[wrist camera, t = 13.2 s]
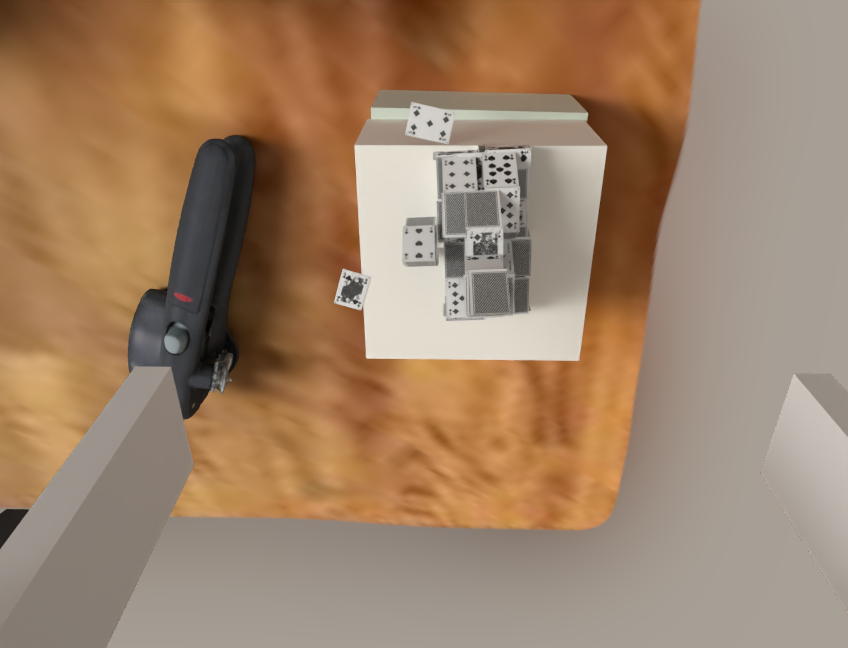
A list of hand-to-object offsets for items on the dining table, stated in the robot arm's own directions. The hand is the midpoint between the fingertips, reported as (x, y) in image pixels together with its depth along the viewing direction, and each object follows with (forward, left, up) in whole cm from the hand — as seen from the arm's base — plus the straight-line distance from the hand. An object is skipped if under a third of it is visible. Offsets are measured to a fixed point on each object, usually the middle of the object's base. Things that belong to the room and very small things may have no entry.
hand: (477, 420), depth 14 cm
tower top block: (+1, -3, -20) cm, 20 cm away
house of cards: (-1, 0, -15) cm, 15 cm away
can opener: (-15, -8, -25) cm, 30 cm away
